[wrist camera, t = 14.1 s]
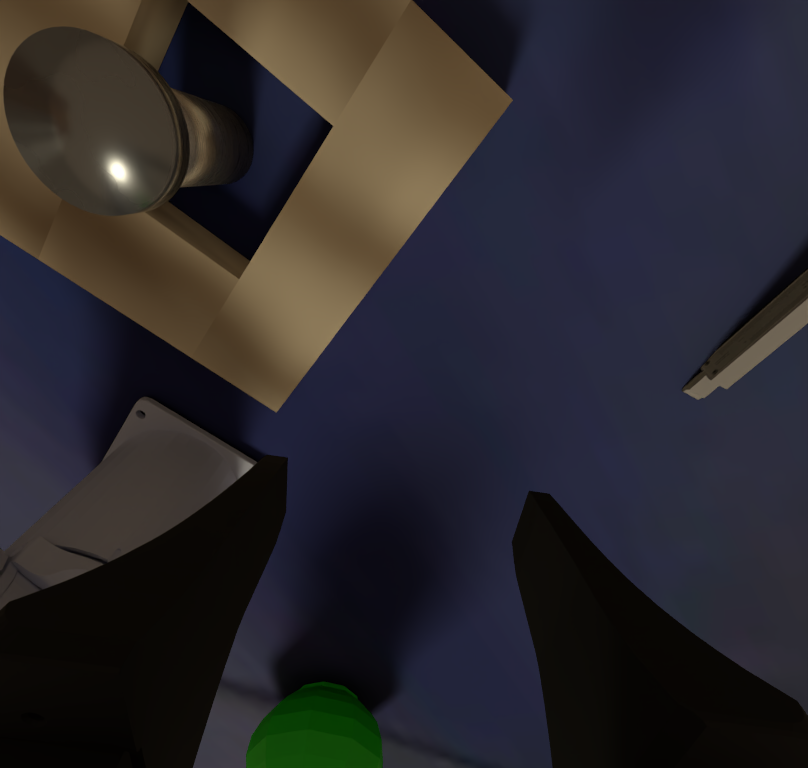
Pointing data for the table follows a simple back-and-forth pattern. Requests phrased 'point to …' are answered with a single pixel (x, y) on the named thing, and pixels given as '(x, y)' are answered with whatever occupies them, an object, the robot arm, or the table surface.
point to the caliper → (754, 339)
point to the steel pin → (114, 125)
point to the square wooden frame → (308, 204)
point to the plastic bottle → (317, 732)
